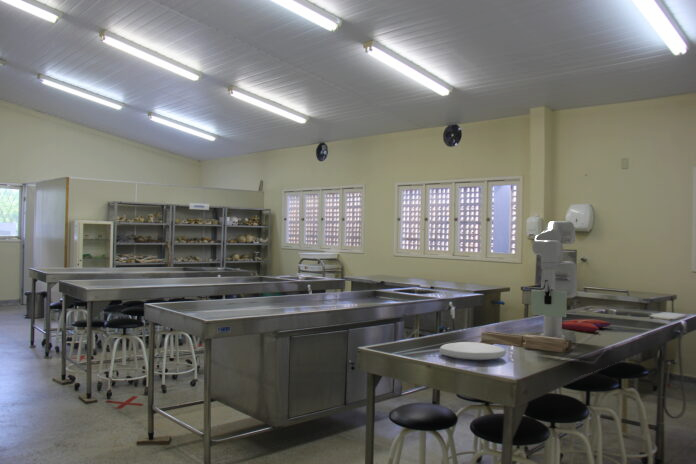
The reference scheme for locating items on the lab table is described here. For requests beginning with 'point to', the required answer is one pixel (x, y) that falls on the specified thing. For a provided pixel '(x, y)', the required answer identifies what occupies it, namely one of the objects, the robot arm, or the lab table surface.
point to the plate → (472, 351)
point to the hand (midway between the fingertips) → (548, 303)
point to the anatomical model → (585, 325)
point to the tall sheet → (553, 309)
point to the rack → (547, 343)
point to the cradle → (502, 338)
